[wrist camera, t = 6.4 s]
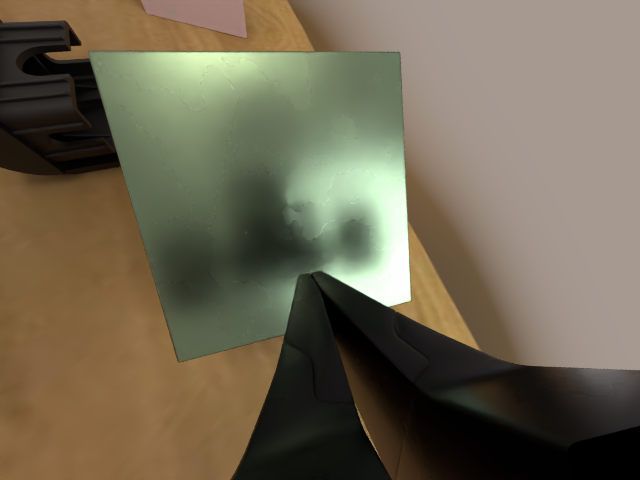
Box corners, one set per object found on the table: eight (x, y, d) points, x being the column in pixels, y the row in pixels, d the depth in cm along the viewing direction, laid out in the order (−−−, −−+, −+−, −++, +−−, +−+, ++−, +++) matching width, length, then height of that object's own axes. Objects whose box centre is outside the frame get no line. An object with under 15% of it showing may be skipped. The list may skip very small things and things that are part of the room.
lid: (100, 61, 9) (85, 49, 8) (391, 60, 11) (401, 50, 11) (182, 352, 11) (177, 364, 11) (403, 295, 14) (412, 301, 13)
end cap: (24, 95, 22) (-76, 3, 16) (113, 86, 24) (55, 1, 18) (27, 187, 20) (-91, 122, 13) (127, 170, 21) (64, 104, 15)
